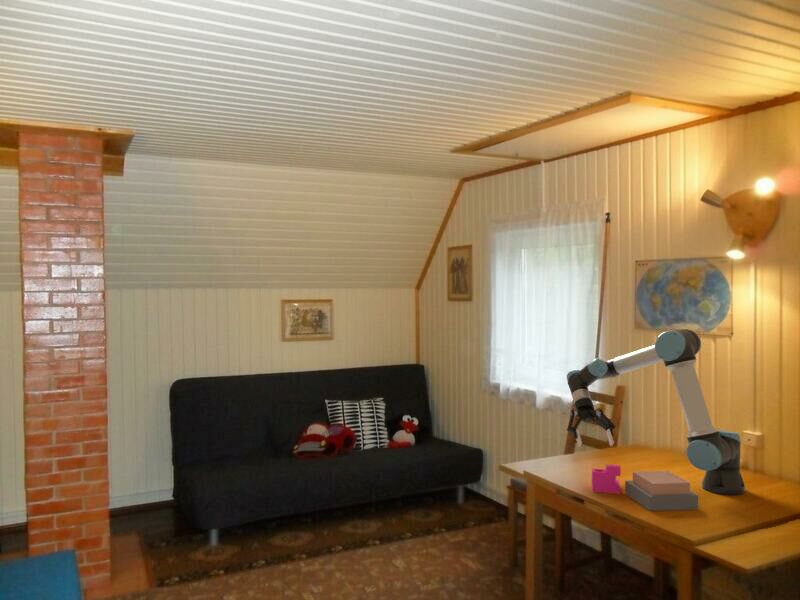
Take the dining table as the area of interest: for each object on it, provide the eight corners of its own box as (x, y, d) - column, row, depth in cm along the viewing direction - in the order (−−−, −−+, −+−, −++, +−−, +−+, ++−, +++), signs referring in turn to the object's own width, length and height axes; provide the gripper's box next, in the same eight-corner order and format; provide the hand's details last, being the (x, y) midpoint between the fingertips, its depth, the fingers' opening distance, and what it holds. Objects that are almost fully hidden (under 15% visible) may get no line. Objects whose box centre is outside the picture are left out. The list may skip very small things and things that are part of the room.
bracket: (620, 493, 256) (620, 467, 256) (592, 491, 258) (592, 465, 258) (618, 484, 267) (618, 459, 267) (591, 483, 270) (591, 457, 270)
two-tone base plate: (669, 492, 257) (670, 469, 257) (698, 509, 237) (698, 484, 237) (625, 493, 255) (625, 470, 255) (649, 510, 235) (650, 485, 235)
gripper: (608, 406, 292) (622, 448, 277) (552, 407, 289) (564, 450, 275) (613, 396, 286) (628, 438, 272) (557, 397, 284) (569, 440, 269)
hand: (596, 444), depth 273 cm, fingers open, 13 cm apart
